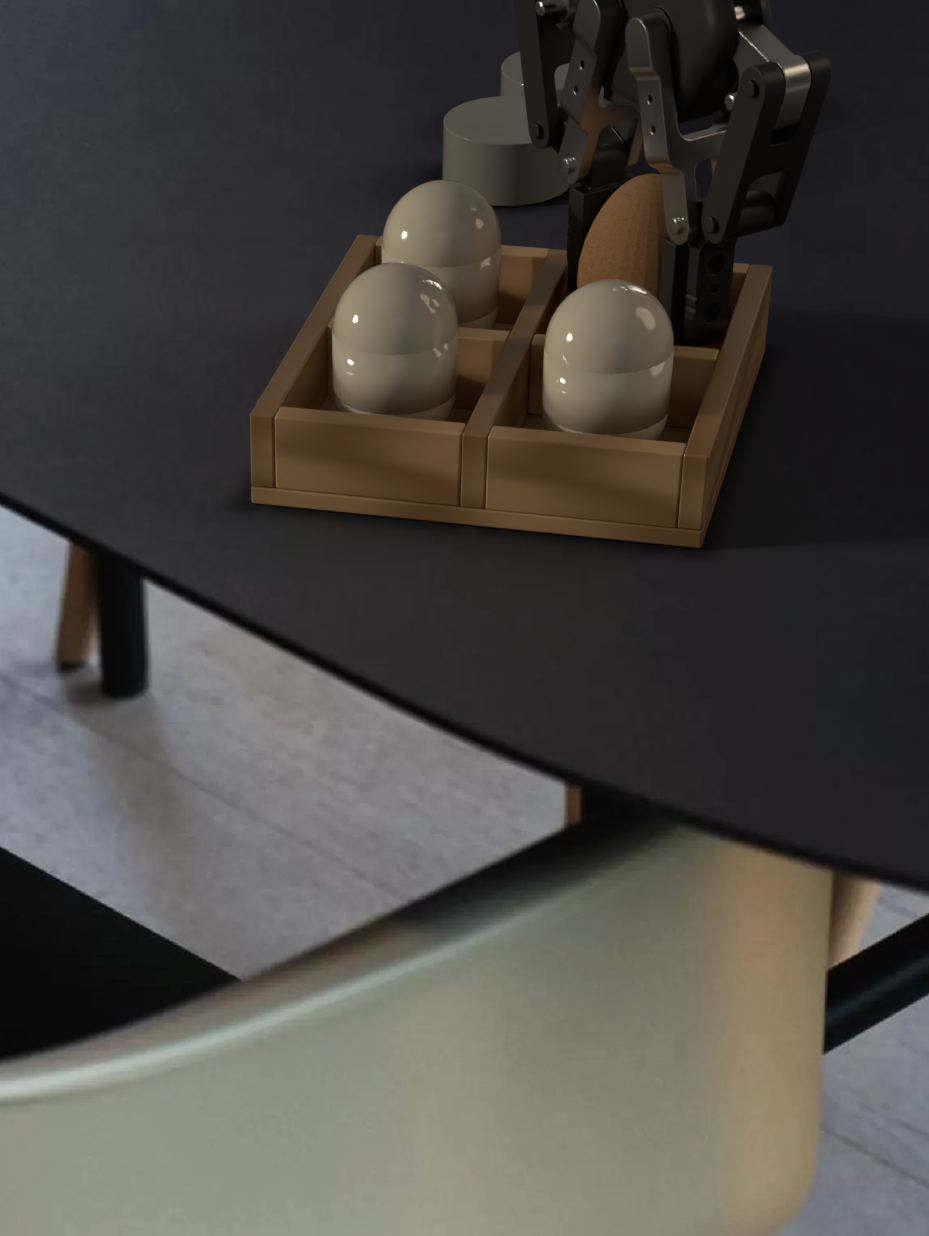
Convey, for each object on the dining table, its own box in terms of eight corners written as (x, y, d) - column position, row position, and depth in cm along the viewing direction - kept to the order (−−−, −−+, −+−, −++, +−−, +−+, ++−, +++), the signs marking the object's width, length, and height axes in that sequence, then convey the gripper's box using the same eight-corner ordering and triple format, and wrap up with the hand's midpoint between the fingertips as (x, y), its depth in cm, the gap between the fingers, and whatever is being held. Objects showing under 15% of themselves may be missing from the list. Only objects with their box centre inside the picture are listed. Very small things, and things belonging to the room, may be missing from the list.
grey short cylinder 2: (560, 153, 115) (563, 91, 113) (581, 202, 111) (585, 139, 109) (433, 161, 115) (435, 100, 113) (451, 210, 111) (452, 148, 109)
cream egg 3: (673, 442, 94) (688, 262, 90) (653, 499, 91) (667, 316, 87) (551, 430, 95) (560, 253, 91) (527, 486, 92) (535, 305, 88)
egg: (625, 313, 100) (637, 139, 96) (734, 347, 97) (750, 170, 94) (545, 358, 98) (554, 181, 94) (655, 394, 95) (668, 214, 91)
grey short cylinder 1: (650, 123, 117) (654, 62, 115) (568, 159, 114) (571, 98, 112) (554, 94, 119) (557, 34, 118) (472, 128, 117) (474, 68, 115)
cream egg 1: (508, 336, 101) (515, 165, 97) (484, 386, 98) (490, 212, 94) (395, 327, 102) (397, 157, 98) (368, 376, 99) (369, 203, 95)
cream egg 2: (467, 423, 96) (472, 246, 92) (440, 478, 93) (445, 298, 89) (348, 412, 97) (349, 237, 93) (319, 466, 94) (318, 288, 90)
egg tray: (764, 351, 100) (773, 265, 98) (701, 549, 90) (709, 456, 88) (357, 318, 104) (357, 233, 102) (251, 504, 93) (249, 413, 91)
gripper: (942, -205, 82) (871, 368, 93) (644, -308, 92) (611, 221, 103) (725, -157, 79) (678, 426, 91) (442, -268, 89) (431, 270, 100)
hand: (643, 314), depth 97 cm, fingers closed on egg, 4 cm apart
